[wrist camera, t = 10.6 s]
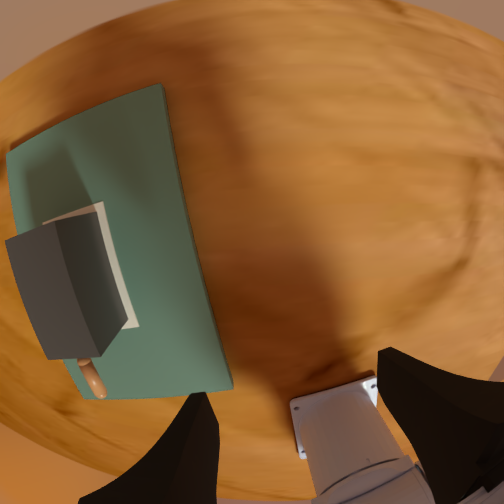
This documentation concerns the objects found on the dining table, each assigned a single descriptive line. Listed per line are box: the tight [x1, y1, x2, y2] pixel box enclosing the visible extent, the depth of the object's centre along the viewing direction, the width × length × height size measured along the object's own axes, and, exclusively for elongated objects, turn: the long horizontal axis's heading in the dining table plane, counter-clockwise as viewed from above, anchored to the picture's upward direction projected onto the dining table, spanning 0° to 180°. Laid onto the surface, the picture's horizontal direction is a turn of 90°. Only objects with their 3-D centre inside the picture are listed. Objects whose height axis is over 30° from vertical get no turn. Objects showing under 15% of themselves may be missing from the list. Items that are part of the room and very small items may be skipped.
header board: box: [6, 83, 233, 399], centre depth 16 cm, size 22×14×4 cm, turn 11°
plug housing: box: [5, 212, 128, 399], centre depth 15 cm, size 11×4×5 cm, turn 11°
